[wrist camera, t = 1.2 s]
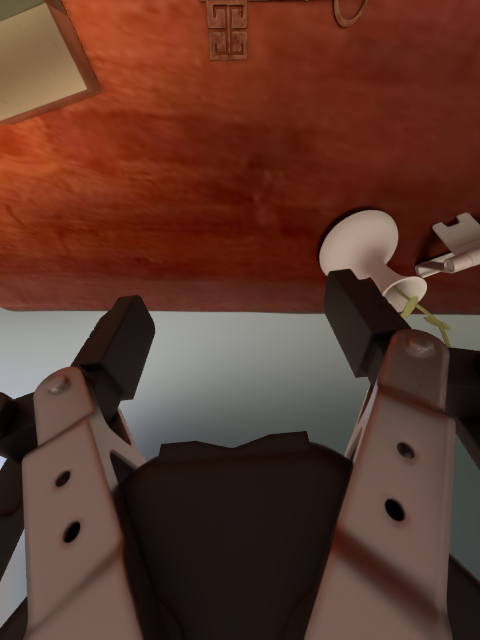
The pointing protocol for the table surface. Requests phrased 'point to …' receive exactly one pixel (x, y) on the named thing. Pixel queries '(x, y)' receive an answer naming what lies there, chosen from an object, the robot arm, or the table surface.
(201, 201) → the table surface
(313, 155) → the table surface
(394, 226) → the flower in vase
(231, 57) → the key
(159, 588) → the robot arm
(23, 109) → the stepped block
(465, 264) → the tablet stand
